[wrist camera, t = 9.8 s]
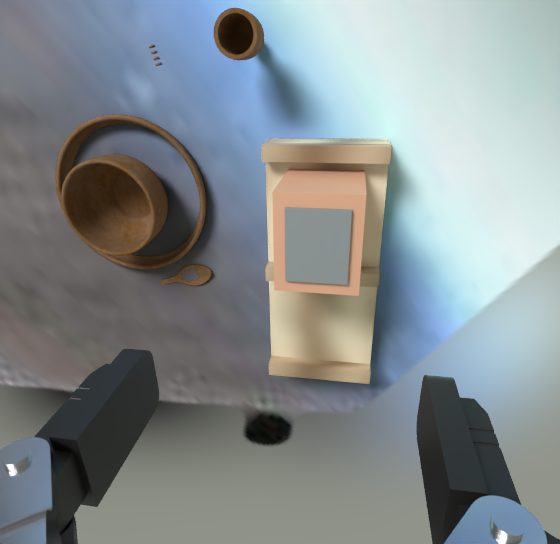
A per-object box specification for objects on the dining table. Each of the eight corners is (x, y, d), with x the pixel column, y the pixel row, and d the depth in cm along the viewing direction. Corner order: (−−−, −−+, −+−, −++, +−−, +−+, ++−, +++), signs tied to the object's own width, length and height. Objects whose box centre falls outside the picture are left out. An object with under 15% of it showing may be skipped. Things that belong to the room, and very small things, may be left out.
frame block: (364, 170, 28) (366, 196, 22) (358, 255, 30) (358, 297, 25) (288, 168, 28) (271, 193, 23) (288, 252, 31) (273, 292, 25)
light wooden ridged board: (388, 139, 28) (391, 147, 26) (368, 359, 36) (369, 384, 33) (270, 138, 30) (261, 145, 27) (275, 351, 37) (269, 374, 35)
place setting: (22, 99, 32) (-44, 105, 27) (269, -1, 27) (247, -18, 22) (122, 298, 39) (85, 334, 33) (338, 250, 33) (334, 284, 28)
